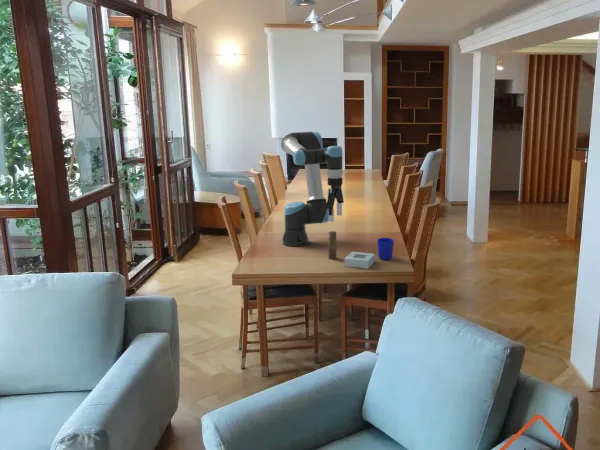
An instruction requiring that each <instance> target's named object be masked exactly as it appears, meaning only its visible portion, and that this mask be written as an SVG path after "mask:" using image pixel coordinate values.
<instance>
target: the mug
mask: <svg viewBox="0 0 600 450" xmlns="http://www.w3.org/2000/svg"><path fill="white" fill-rule="evenodd" d="M394 241H395V240H394V239H393V238H391V237H381V238H378V239H377V254H378V255H377V256H378V258H379V259H380V260H382V261H387V260H388V261H389V260H391V259H392V258H393V251H394V250H393V249H394Z"/></svg>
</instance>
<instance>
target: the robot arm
mask: <svg viewBox="0 0 600 450" xmlns="http://www.w3.org/2000/svg"><path fill="white" fill-rule="evenodd" d="M280 144H281V145H280V146H281V149H282V150H283V152H285V153H286V154H289V155H291V156H292V160H293V161H292V162H293V164H294V165H296V166H304V170H305V179H306V187H307V188H306V189H307V195H308V199H307V200H306V201H305V202H306V203H305V202H304V201H294V202H290V203H287V204H286V205H284V210H283V211H284V213H283V214H284V232H283V236H282V240H281V241H282V245H284V246H285V247H286V246H287V247H302V246H306V245H308V244H309V236H308V234H307V231H306V226H307V225H317V224H324V223H325V224H326V223H328V222H332V223H333V222H334V221H335V210H334V209H335V208H334V206H335V201H336V202H337V203H336V216H340V217H341V216H343V204H344V195H343V191H342V186H343V173H344V170H343V147H342V146H340V145H329V146H328V147H324V143H323V138H322V136H321V133H319V131H301V132H300V131H299V132H290V133H288V134H286V135H285V136H284V137H282V140H281V142H280ZM321 164H326V165H327V166H326V167H327V170H326V172H327V173H326V175H327V177H328V178H327V185H328V186H330V188H328V193H327V198H325V196H324V192H323V184H322V177H321V175H322V174H321V167H320V165H321Z"/></svg>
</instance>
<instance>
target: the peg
mask: <svg viewBox="0 0 600 450" xmlns="http://www.w3.org/2000/svg"><path fill="white" fill-rule="evenodd" d="M327 235H328V236H327V237H328V238H327V239H328V240H327V241H328V259H329V260H336V259H337V232H336V231H334V230H333V231H332V230H331V231H328V233H327Z"/></svg>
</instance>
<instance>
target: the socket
mask: <svg viewBox="0 0 600 450" xmlns="http://www.w3.org/2000/svg"><path fill="white" fill-rule="evenodd" d="M375 258H376V254H375V253H370V252H369V253H368V252H359V251H358V252H357V251H351V252H350V253H349V254H348V255H346V257H344V267H350V268H359V269H366V270H369V268H371V266H372V265H373V264H374V263H375V261H376V259H375Z"/></svg>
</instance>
